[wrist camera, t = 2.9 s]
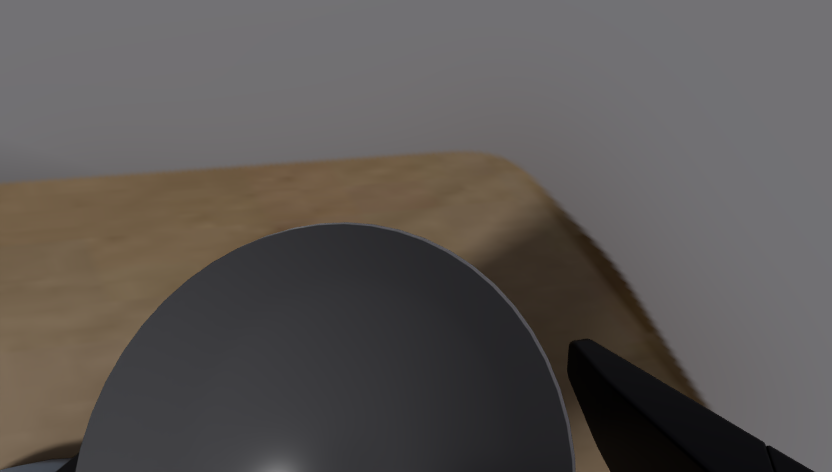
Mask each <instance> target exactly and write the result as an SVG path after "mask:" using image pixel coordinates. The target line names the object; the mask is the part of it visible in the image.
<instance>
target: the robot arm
mask: <svg viewBox="0 0 832 472" xmlns="http://www.w3.org/2000/svg"><path fill="white" fill-rule="evenodd" d="M567 372H568V377H569V380H570V383H571V385H572V387H573V390H574V392H575V395H576V397H577V399H578V402H579V404H580V407H581V409H582V412H583V414H584V416H585V419H586V421H587V424H588V426H589V428H590V431H591V433H592V436H593V438H594V440H595V442H596V445H597V447H598V449H599V451H600V453H601V455H602V457H603V459H604V460H605V462H606V464H607V466H608V468H609V470H610V472H814V471H812V470H811V469H809V468H807V467H805V466H804V465H802V464H800V463H798V462H796V461H795V460H793V459H792V458H790V457H788V456H786V455H785V454H783V453H781V452H779V451H778V450H776V449H775V448H773V447H771V446H766V445H765V443H764V442H763V441H761V440H759V439H758V438H756V437H754V436H752V435H751V434H749V433H747V432H746V431H744V430H742V429H741V428H739V427H737V426H735V425H734V424H732V423H731V422H729V421H727V420H726V419H724V418H722V417H720V416H719V415H717V414H715V413H714V412H712V411H710V410H709V409H707V408H705V407H704V406H702V405H700V404H699V403H697V402H695V401H694V400H692V399H690V398H688V397H687V396H685V395H683V394H682V393H680V392H678V391H677V390H675V389H673V388H672V387H670V386H668V385H667V384H665V383H663V382H662V381H660V380H658V379H656V378H655V377H653V376H651V375H650V374H648V373H646V372H645V371H643V370H641V369H640V368H638V367H636V366H635V365H633V364H631V363H630V362H628V361H626V360H624V359H623V358H621V357H619V356H618V355H616V354H614V353H613V352H611V351H609V350H608V349H606V348H604V347H603V346H601V345H599V344H598V343H596V342H594V341H592V340H590V339H581V340H575V341H572V342H570V344H569V350H568V365H567ZM78 457H79V453H78V454H77V455H75V456H74V457H73V458H72V459H71V460H69V461H68V462H67V463H66V464H64V465H63V466H62V467H61V468H59V469H58V470H57V471H56V472H76V467H77V462H78Z"/></svg>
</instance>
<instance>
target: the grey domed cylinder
mask: <svg viewBox="0 0 832 472" xmlns="http://www.w3.org/2000/svg"><path fill="white" fill-rule="evenodd" d="M76 472H575V455H574V448H573V442H572V435H571V429H570V422H569V418H568V415H567V411H566V408H565V404H564V400H563V397H562V393H561V390H560V387H559V384H558V382H557V379H556V377H555V375H554V372H553V370H552V367H551V365H550V362H549V360H548V358H547V356H546V354H545V352H544V350H543V348H542V347H541V345H540V343H539V341H538V339H537V338H536V336H535V334H534V332H533V330H532V329H531V328H530V326H529V325H528V323H527V322H526V321H525V319H524V318H523V316H522V315H521V314H520V312H519V311H518V310H517V308H516V307H515V305H514V304H513V303H512V302H511V301H510V300H509V299H508V298H507V297H506V296H505V295H504V294H503V292H502V291H501V290H500V289H499V288H498V287H497V286H496V285H495V284H494V283H493V282H492V281H491V280H489V279H488V278H487V277H486V276H485V275H483V274H482V273H481V272H480V271H479V270H478V269H476V268H475V267H474V266H473V265H471V264H470V263H468V262H467V261H465V260H464V259H462V258H461V257H459V256H457V255H456V254H454V253H453V252H451V251H450V250H448V249H446V248H444V247H442V246H440V245H438V244H435V243H433V242H431V241H429V240H427V239H425V238H422V237H419V236H416V235H413V234H410V233H408V232H405V231H402V230H398V229H393V228H388V227H383V226H378V225H373V224H360V223H348V222H347V223H324V224H315V225H309V226H303V227H297V228H292V229H289V230H285V231H282V232H278V233H275V234H272V235H268V236H266V237H263V238H261V239H258V240H256V241H254V242H251V243H249V244H246V245H244V246H242V247H240V248H237V249H236V250H234V251H232V252H230V253H228V254H227V255H225V256H223V257H221V258H219V259H218V260H216V261H214V262H212V263H211V264H209V265H208V266H207V267H205V268H204V269H202V270H201V271H200V272H198V273H197V274H195V275H194V276H193V277H191V278H190V279H188V280H187V281H186V282H185V283H184V284H183V285H182V286H180V287H179V288H178V289H177V290H176V291H175V292H174V293H173V294H171V295H170V296H169V297H168V298H167V299H166V300H165V301H164V302H163V303H162V304H161V305H160V306H159V307H158V308H157V310H156V311H155V312H154V313H153V314H152V315H151V316H150V317H149V318H148V319H147V321H146V322H145V323H144V324H143V325H142V326H141V328H140V329H139V331H138V332H137V333H136V335H135V336H134V337H133V339H132V340H131V341H130V343H129V344H128V346H127V347H126V348H125V350H124V351H123V353H122V354H121V356H120V358H119V360H118V361H117V363H116V365H115V367H114V368H113V370H112V372H111V373H110V375H109V377H108V379H107V380H106V382H105V385H104V387H103V389H102V391H101V394H100V396H99V398H98V400H97V402H96V405H95V407H94V409H93V411H92V414H91V417H90V420H89V423H88V426H87V429H86V432H85V435H84V438H83V442H82V445H81V448H80V452H79V457H78V462H77V467H76Z"/></svg>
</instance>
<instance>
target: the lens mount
mask: <svg viewBox="0 0 832 472" xmlns="http://www.w3.org/2000/svg"><path fill="white" fill-rule="evenodd" d="M71 459H72V458H65V459H51V460H45V461H40V462H35V463H30V464H25V465H20V466H16V467H11V468H7V469H3V470H0V472H56V471H57V470H58V469H59V468H61V467H62V466H63V465H64V464H66V463H67V462H68V461H69V460H71Z"/></svg>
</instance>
